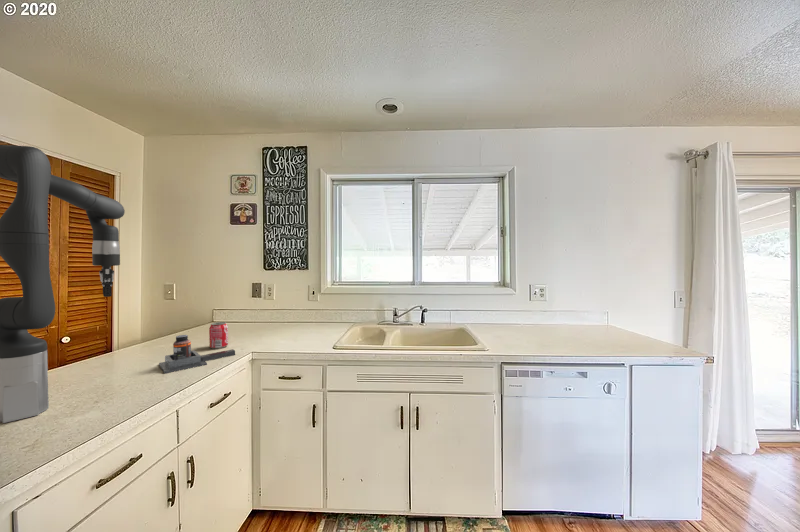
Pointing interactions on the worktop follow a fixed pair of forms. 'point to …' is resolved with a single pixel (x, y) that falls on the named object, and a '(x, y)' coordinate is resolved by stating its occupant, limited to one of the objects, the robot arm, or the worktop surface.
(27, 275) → the robot arm
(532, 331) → the worktop surface
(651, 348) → the worktop surface
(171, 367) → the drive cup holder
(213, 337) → the beverage can
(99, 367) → the worktop surface
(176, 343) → the supplement bottle
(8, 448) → the worktop surface
